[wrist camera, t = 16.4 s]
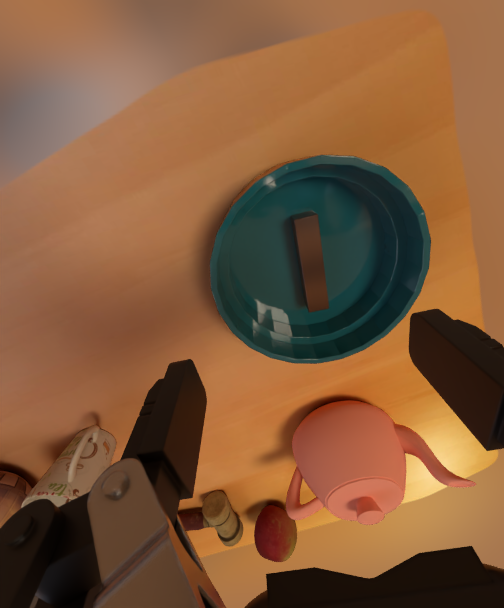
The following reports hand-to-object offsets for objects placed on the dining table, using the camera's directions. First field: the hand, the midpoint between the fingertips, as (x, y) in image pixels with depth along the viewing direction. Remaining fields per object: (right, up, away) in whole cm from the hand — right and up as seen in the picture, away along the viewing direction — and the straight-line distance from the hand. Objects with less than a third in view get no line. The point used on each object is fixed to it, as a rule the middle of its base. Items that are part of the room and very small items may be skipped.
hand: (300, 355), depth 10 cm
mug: (-25, -18, +32) cm, 44 cm away
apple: (+2, -37, +42) cm, 56 cm away
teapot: (+12, -17, +32) cm, 38 cm away
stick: (+4, +7, +19) cm, 20 cm away
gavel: (-15, -38, +42) cm, 59 cm away
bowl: (+4, +7, +19) cm, 21 cm away
